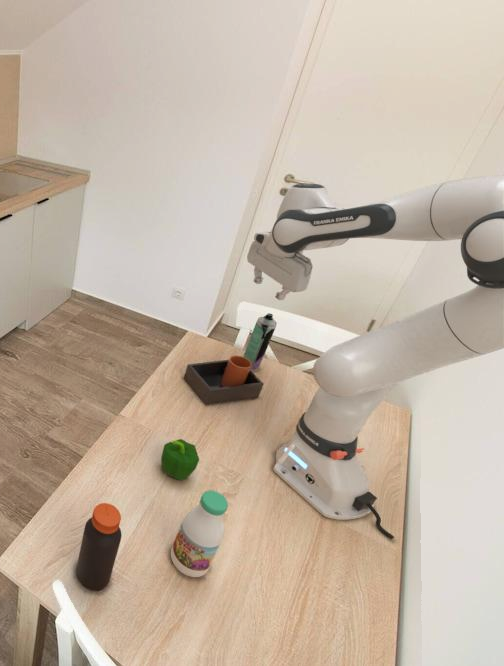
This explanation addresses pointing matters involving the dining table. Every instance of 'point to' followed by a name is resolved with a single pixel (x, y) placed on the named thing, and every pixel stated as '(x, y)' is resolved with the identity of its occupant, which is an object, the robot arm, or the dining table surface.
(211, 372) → the dark open tray
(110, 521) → the vinegar
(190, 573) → the milk bottle
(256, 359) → the spray can
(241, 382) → the cup
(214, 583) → the dining table surface
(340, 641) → the dining table surface
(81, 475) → the dining table surface
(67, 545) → the dining table surface
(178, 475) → the bell pepper
